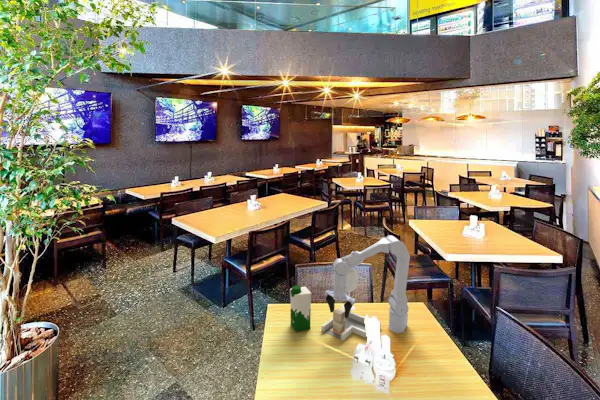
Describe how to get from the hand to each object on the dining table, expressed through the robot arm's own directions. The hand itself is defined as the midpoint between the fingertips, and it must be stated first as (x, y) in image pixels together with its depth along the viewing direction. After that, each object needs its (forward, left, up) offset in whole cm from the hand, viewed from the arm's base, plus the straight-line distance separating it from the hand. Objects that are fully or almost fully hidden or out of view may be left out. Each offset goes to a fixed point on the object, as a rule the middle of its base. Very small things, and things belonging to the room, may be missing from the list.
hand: (339, 314), depth 141 cm
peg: (0, 0, -8) cm, 8 cm away
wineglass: (-21, -7, -9) cm, 24 cm away
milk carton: (+8, -16, -9) cm, 20 cm away
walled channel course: (-4, +4, -9) cm, 10 cm away
